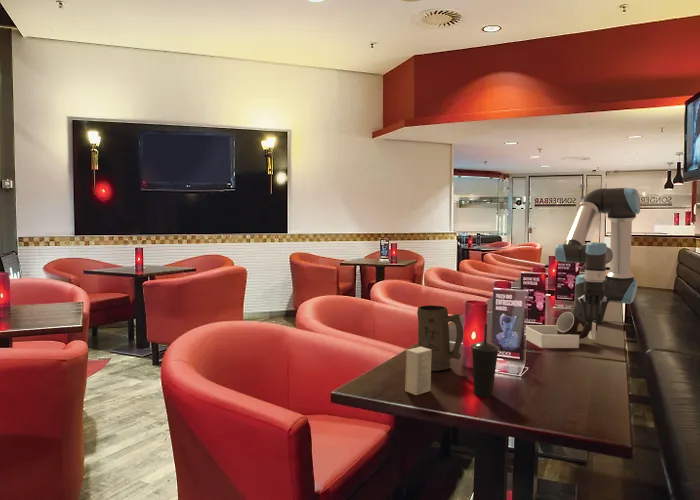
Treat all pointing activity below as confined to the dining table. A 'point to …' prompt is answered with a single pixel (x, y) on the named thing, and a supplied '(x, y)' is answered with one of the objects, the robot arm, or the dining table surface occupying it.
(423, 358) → the skincare box
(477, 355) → the drinking cup
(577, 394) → the dining table surface
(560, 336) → the cream u-shaped bracket
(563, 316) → the dark brown mug
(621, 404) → the dining table surface
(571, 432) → the dining table surface
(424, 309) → the beer stein
